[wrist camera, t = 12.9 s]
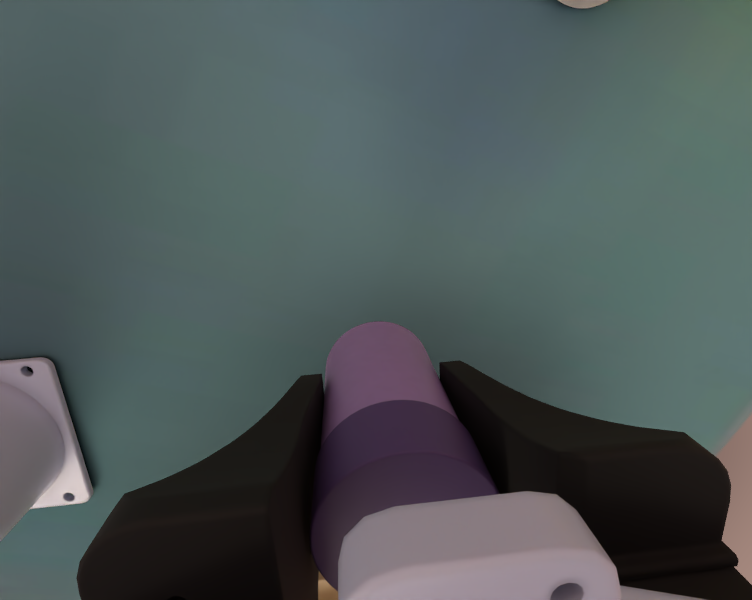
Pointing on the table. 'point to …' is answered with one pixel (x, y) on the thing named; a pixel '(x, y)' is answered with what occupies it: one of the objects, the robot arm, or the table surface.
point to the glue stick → (385, 438)
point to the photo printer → (583, 3)
